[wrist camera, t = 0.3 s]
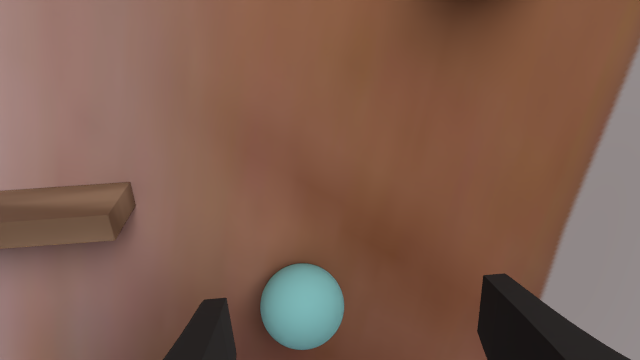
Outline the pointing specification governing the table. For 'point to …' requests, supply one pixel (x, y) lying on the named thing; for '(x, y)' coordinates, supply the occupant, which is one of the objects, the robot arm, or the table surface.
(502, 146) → the table surface
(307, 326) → the ball
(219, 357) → the robot arm
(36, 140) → the table surface
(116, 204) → the shallow wooden tray
